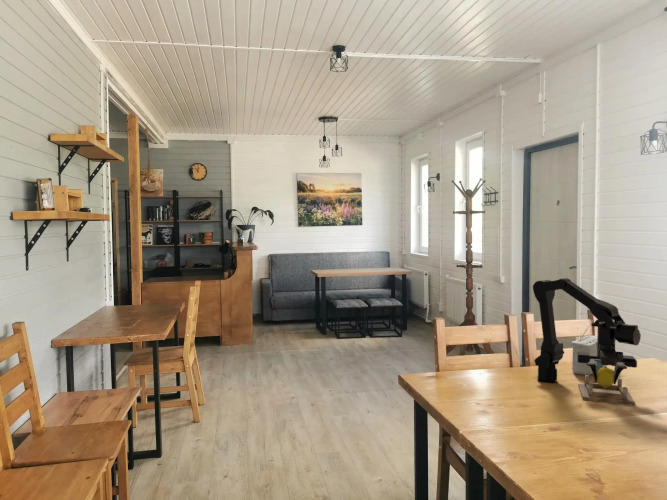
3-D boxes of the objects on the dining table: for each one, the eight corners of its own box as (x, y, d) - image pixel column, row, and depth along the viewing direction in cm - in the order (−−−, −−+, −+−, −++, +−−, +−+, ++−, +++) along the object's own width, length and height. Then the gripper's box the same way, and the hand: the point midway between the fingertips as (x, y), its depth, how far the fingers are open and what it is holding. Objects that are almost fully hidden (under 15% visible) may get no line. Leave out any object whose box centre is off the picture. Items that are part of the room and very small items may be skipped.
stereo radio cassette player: (589, 377, 204) (590, 328, 203) (569, 373, 210) (570, 325, 209) (609, 368, 218) (610, 321, 217) (589, 364, 224) (590, 319, 223)
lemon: (609, 386, 185) (610, 364, 185) (616, 391, 180) (617, 369, 179) (593, 385, 186) (594, 364, 186) (600, 390, 180) (600, 368, 180)
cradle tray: (582, 399, 178) (583, 385, 178) (578, 386, 193) (578, 373, 193) (635, 405, 173) (635, 390, 172) (626, 391, 188) (626, 377, 187)
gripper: (579, 342, 178) (578, 386, 178) (641, 347, 171) (639, 393, 172) (576, 336, 188) (575, 377, 189) (634, 340, 182) (633, 383, 182)
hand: (605, 383), depth 183 cm, fingers closed on lemon, 5 cm apart
